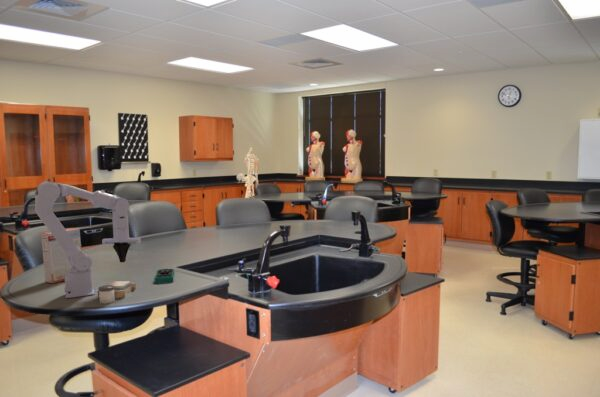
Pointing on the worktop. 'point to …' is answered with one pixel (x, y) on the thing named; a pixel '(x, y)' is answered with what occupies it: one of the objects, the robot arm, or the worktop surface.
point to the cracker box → (57, 256)
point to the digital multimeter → (164, 275)
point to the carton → (121, 285)
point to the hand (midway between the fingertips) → (122, 261)
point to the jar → (106, 294)
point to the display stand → (122, 291)
